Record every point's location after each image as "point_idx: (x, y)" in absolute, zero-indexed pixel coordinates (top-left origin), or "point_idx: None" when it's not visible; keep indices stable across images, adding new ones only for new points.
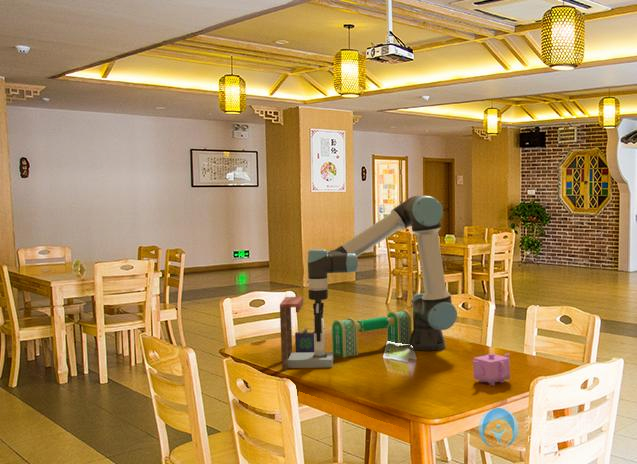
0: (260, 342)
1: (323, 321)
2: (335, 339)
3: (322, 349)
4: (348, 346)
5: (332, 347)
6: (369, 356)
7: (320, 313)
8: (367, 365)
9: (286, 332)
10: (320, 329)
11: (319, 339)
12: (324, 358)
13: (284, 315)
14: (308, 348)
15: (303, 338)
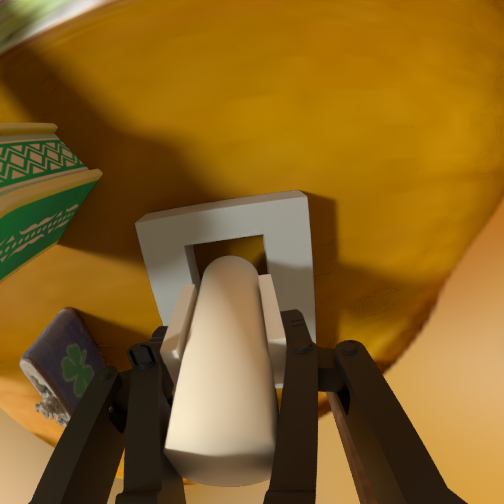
0: (50, 442)
1: (232, 413)
2: (26, 249)
3: (270, 274)
4: (52, 161)
5: (41, 253)
6: (76, 64)
7: (449, 491)
8: (244, 28)
9: (365, 475)
10: (369, 361)
11: (303, 323)
12: (284, 242)
13: None
14: (83, 349)
15: (75, 392)
